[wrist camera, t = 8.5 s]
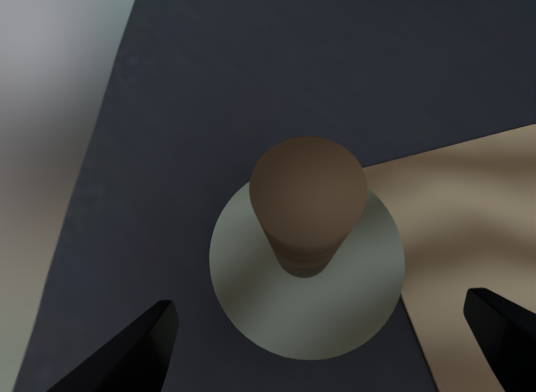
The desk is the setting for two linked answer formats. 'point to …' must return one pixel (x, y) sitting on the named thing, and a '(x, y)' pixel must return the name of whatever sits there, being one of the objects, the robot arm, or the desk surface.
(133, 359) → the robot arm
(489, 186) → the mat
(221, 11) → the desk surface
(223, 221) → the lid
